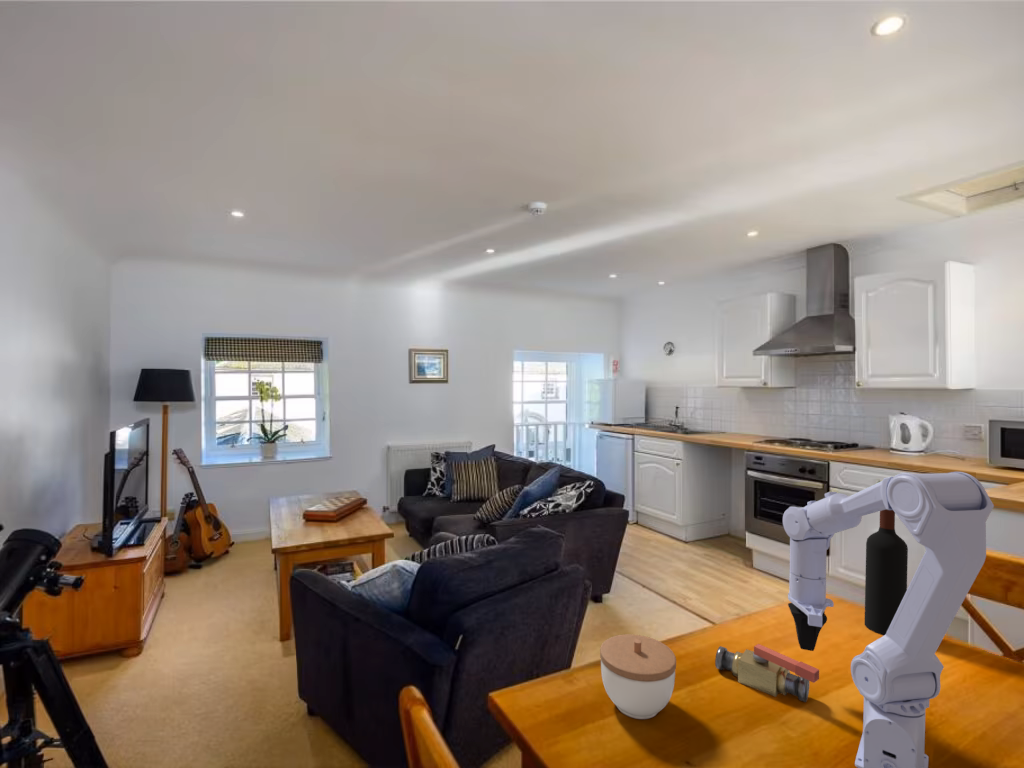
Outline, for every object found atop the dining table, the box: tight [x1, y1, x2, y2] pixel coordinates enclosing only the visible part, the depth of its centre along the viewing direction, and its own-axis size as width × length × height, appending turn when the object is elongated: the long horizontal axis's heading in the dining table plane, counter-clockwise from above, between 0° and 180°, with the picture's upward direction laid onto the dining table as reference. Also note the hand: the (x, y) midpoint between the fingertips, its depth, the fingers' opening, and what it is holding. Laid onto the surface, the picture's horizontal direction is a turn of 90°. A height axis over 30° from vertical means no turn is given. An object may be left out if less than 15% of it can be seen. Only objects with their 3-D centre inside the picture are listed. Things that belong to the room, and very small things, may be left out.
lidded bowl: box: [599, 633, 677, 720], centre depth 86 cm, size 13×13×11 cm
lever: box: [753, 643, 820, 684], centre depth 89 cm, size 11×3×2 cm, turn 36°
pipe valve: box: [714, 645, 810, 703], centre depth 93 cm, size 15×5×4 cm, turn 49°
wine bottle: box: [864, 509, 909, 636], centre depth 113 cm, size 8×8×30 cm
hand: (806, 648), depth 91 cm, fingers closed
